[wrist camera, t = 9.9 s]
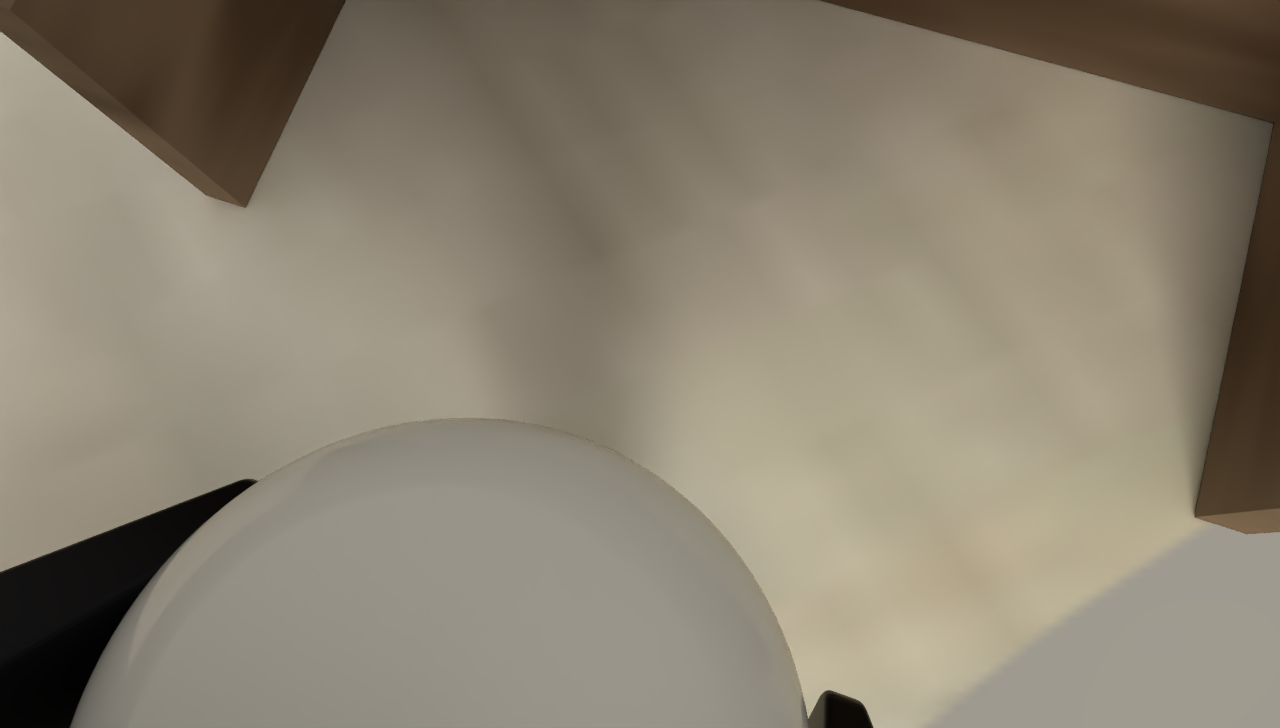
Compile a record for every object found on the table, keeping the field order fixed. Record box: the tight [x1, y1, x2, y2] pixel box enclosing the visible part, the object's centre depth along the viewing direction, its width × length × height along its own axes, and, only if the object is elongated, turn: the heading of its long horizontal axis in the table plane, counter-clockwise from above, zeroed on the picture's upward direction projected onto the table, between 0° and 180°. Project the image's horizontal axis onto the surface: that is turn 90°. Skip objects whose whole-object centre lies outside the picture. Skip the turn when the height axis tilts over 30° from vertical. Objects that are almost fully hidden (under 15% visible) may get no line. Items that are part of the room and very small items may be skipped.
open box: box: [0, 0, 1280, 534], centre depth 16 cm, size 10×23×7 cm, turn 71°
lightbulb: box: [69, 418, 809, 728], centre depth 10 cm, size 6×6×11 cm
